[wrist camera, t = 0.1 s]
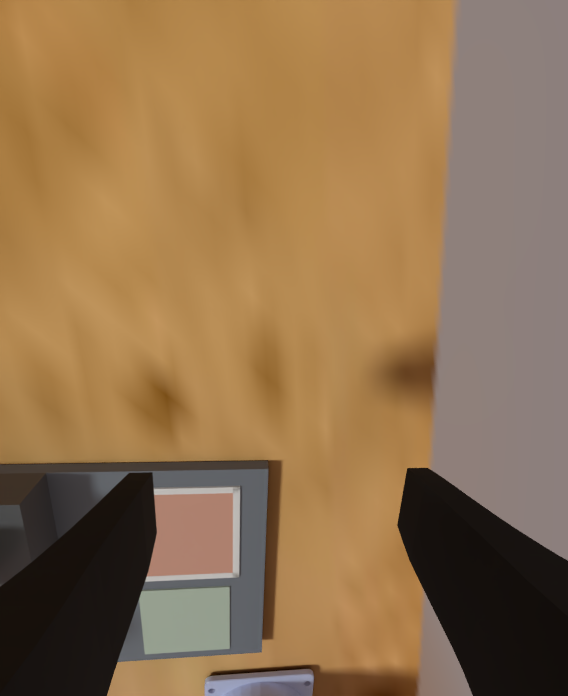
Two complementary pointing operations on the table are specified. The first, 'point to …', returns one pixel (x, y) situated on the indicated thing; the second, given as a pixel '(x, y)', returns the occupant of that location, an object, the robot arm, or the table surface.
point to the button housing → (24, 521)
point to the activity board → (184, 551)
